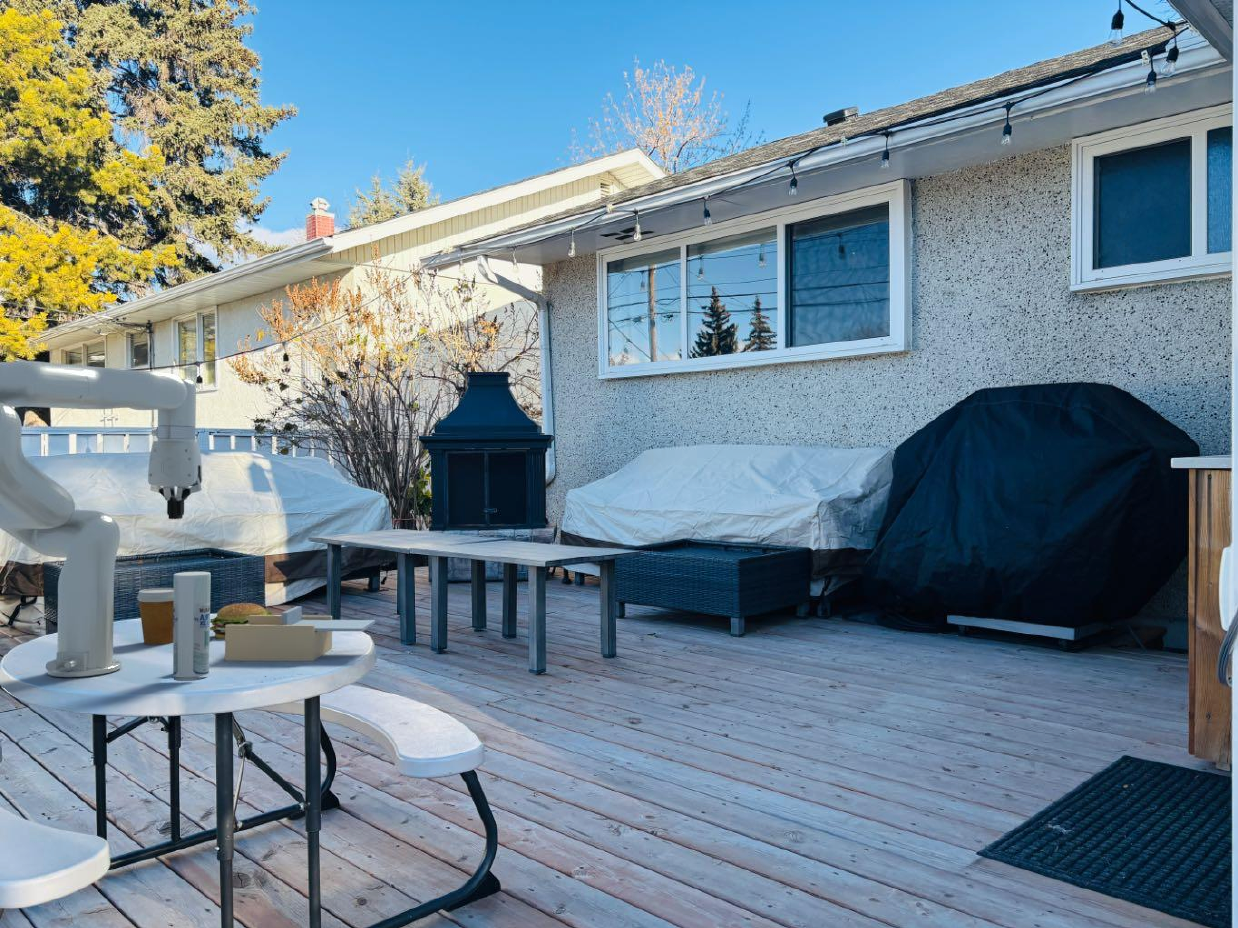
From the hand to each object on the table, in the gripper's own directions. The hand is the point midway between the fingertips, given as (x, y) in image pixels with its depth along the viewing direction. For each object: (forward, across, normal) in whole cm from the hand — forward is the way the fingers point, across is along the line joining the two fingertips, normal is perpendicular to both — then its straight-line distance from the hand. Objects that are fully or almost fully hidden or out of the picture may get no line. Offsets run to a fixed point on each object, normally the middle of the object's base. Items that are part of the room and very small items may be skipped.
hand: (175, 518), depth 201 cm
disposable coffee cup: (+29, -8, +10) cm, 32 cm away
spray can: (+29, +15, -25) cm, 41 cm away
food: (+29, +8, +18) cm, 35 cm away
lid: (+22, +35, -7) cm, 42 cm away
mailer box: (+29, +26, -6) cm, 39 cm away
